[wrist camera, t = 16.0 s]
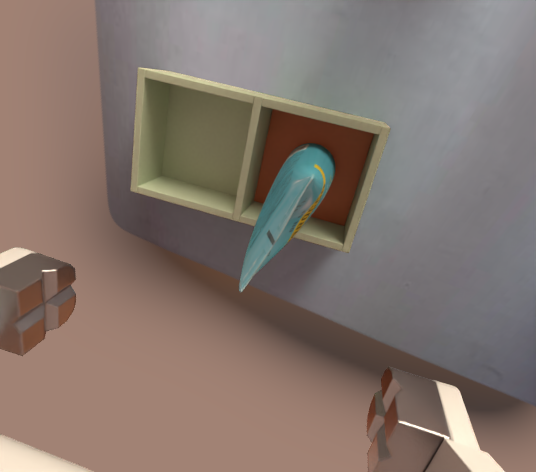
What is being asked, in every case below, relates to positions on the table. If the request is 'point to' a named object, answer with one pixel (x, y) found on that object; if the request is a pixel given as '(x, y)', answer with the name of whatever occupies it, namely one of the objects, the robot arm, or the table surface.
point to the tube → (288, 205)
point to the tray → (247, 151)
